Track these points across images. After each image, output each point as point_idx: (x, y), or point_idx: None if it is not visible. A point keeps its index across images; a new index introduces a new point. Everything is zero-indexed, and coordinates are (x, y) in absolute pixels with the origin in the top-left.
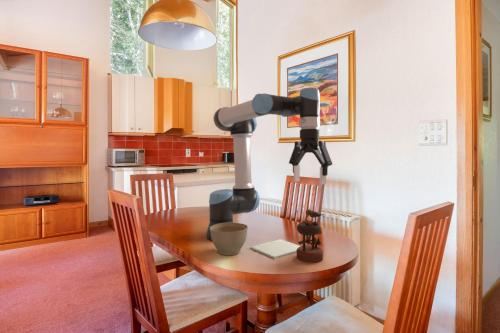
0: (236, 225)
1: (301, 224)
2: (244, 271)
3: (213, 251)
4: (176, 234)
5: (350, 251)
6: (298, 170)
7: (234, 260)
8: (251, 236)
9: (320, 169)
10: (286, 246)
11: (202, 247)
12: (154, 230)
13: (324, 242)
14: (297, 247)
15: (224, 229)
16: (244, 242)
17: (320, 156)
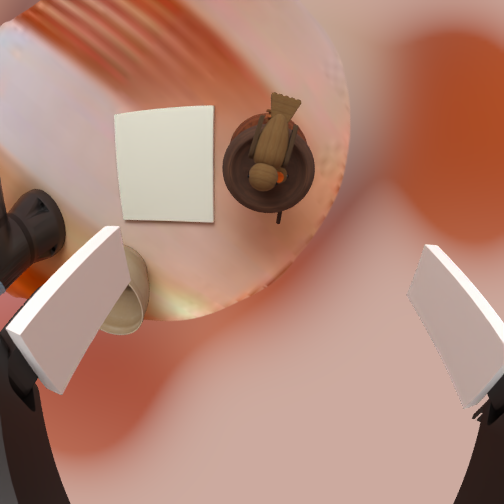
0: None
1: (239, 180)
2: (231, 303)
3: None
4: (19, 276)
5: (310, 26)
6: (65, 309)
7: (173, 286)
8: (57, 161)
9: (461, 388)
10: (170, 141)
11: None
12: None
13: (207, 17)
14: (195, 122)
15: None
16: (136, 261)
17: (502, 500)
